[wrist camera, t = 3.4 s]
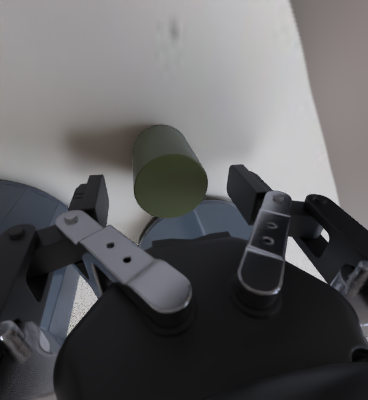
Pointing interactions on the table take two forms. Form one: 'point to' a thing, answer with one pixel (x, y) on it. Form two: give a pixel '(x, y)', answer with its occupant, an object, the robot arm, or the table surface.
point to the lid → (199, 223)
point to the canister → (62, 278)
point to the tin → (167, 173)
